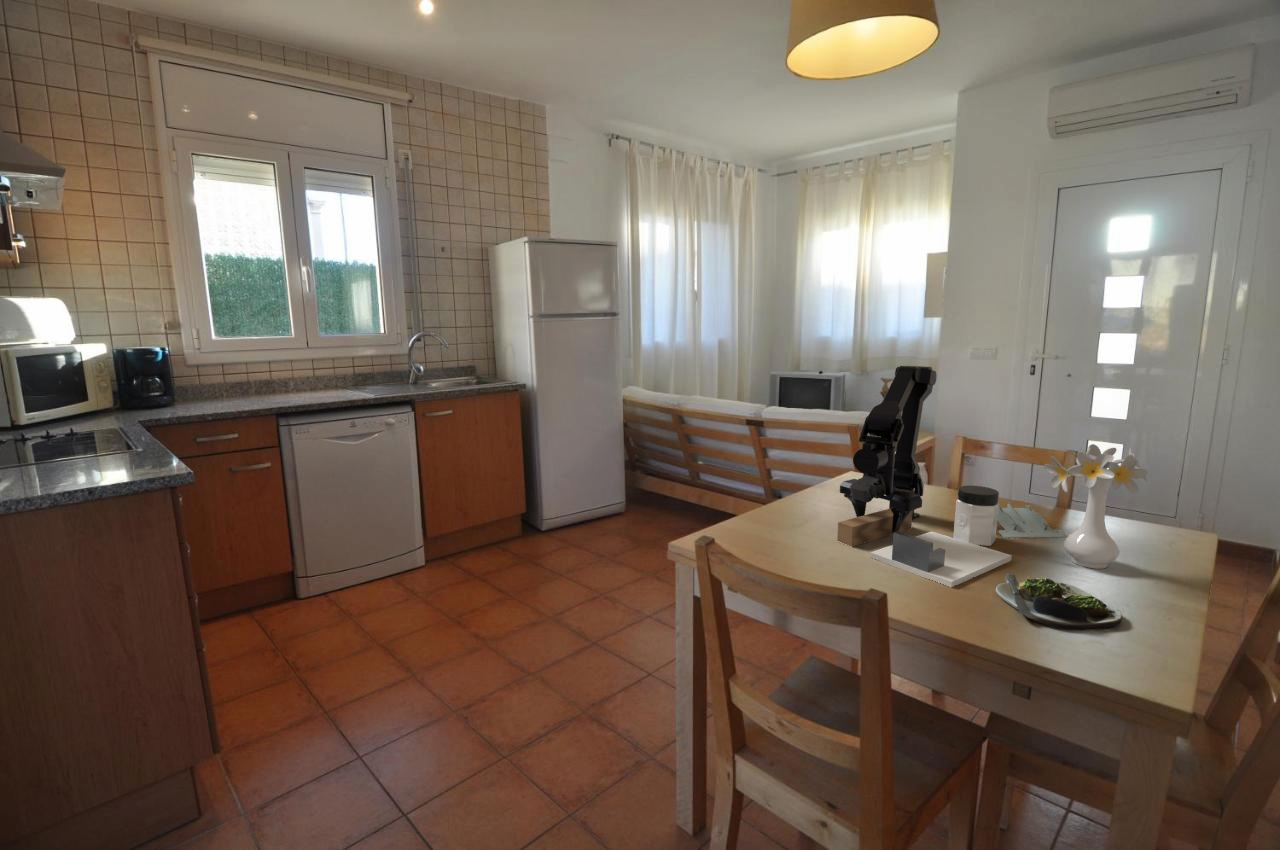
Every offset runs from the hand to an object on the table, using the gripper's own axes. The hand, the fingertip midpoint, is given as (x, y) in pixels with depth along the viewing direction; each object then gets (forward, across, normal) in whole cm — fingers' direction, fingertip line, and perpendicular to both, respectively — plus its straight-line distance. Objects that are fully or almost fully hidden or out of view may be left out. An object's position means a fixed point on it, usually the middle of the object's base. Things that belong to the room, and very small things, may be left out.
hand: (877, 528), depth 145 cm
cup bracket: (0, +17, -10) cm, 20 cm away
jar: (+2, +15, +16) cm, 22 cm away
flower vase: (+2, +36, +20) cm, 41 cm away
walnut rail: (+2, 0, 0) cm, 2 cm away
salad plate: (+2, +41, -7) cm, 42 cm away
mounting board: (+1, +17, -2) cm, 17 cm away
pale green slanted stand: (+2, +18, +32) cm, 37 cm away
